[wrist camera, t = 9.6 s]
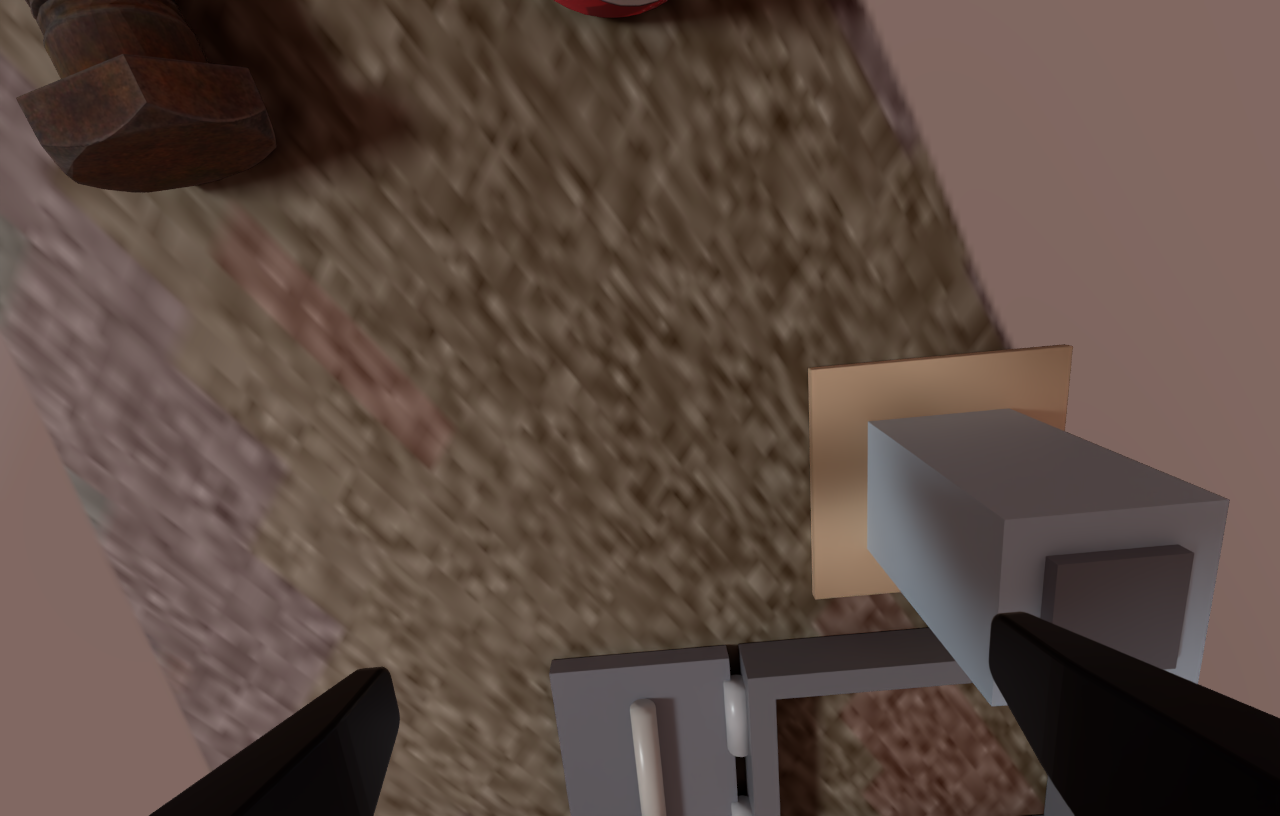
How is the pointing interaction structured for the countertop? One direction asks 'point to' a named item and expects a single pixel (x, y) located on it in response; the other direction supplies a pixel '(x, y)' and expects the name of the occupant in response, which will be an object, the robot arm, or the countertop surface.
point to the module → (1040, 537)
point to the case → (717, 718)
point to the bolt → (141, 99)
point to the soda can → (611, 7)
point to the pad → (894, 393)
